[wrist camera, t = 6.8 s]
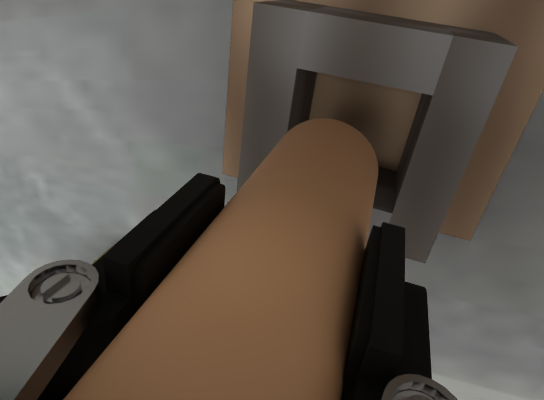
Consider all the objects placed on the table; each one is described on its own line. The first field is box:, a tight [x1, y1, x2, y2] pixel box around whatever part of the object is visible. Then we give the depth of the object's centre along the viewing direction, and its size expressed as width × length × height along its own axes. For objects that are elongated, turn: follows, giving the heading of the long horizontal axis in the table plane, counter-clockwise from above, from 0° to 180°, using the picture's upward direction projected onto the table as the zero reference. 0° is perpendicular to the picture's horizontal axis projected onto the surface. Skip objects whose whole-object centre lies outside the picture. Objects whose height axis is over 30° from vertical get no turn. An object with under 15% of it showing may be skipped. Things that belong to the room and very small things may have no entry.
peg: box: [63, 118, 378, 400], centre depth 9 cm, size 4×4×14 cm
